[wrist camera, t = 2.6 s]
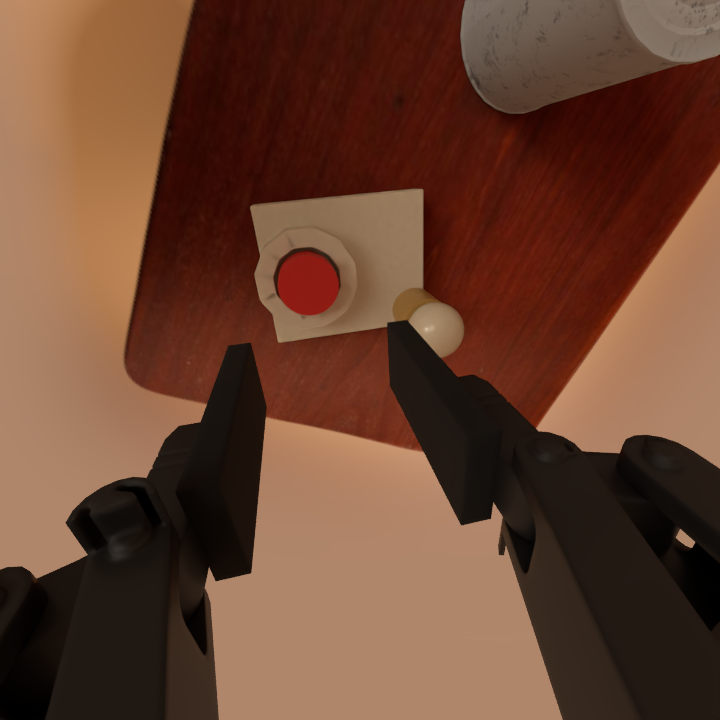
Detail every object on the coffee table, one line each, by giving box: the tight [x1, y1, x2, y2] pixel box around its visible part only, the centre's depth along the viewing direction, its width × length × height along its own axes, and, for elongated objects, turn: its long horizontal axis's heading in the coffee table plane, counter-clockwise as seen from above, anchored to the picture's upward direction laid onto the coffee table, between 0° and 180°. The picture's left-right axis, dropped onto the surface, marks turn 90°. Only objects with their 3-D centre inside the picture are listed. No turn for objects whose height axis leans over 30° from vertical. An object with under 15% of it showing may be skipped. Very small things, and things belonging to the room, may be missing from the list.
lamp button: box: [278, 251, 339, 315], centre depth 24 cm, size 4×4×2 cm
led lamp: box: [392, 288, 464, 358], centre depth 24 cm, size 4×4×6 cm
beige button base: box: [250, 189, 423, 343], centre depth 26 cm, size 10×12×4 cm
